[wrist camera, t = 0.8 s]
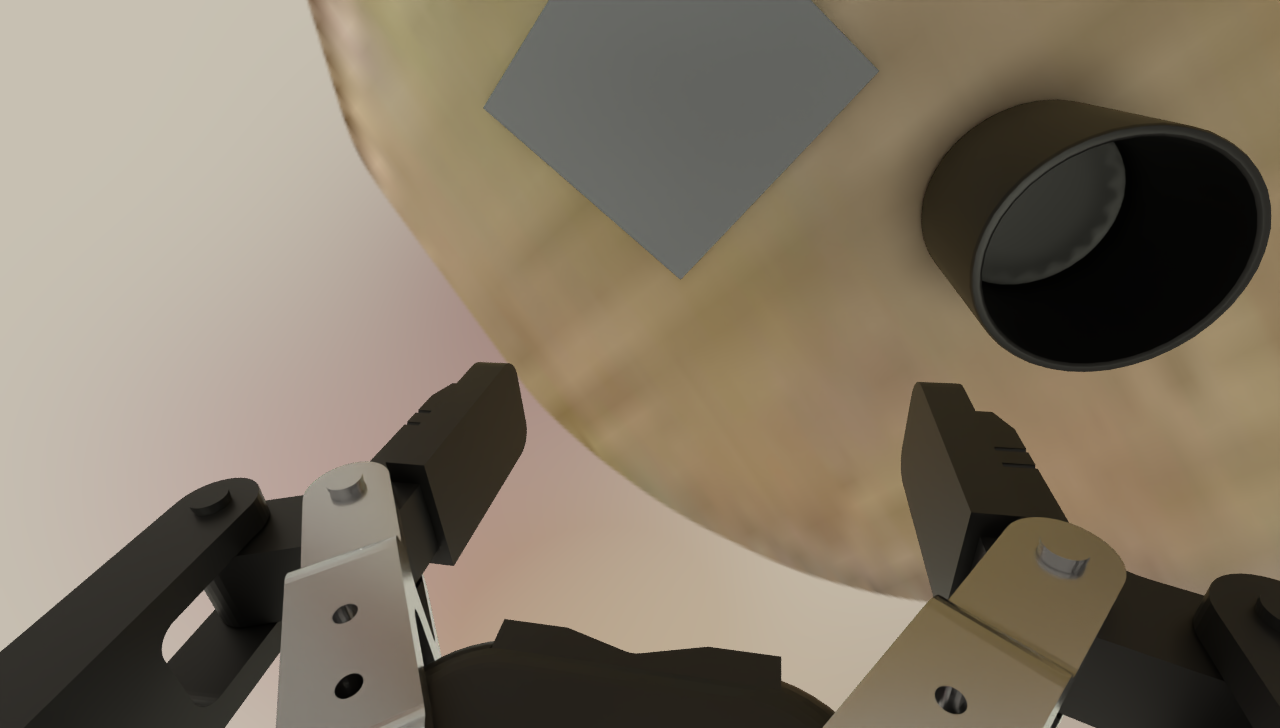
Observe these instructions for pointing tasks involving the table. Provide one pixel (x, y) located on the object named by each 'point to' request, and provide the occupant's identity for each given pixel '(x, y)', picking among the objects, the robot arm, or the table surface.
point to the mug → (1094, 231)
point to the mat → (676, 106)
